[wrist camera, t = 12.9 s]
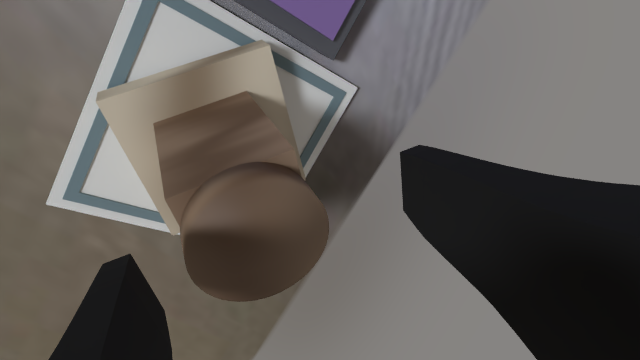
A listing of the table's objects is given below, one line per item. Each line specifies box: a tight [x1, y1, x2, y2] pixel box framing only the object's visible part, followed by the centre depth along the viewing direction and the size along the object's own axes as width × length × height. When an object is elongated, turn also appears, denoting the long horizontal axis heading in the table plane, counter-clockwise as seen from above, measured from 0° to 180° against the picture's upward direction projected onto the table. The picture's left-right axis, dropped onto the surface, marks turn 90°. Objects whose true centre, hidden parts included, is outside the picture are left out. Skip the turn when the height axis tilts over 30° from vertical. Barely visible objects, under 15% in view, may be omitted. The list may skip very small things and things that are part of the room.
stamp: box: [96, 40, 329, 302], centre depth 15 cm, size 7×7×9 cm
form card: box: [46, 0, 358, 235], centre depth 19 cm, size 11×11×1 cm
